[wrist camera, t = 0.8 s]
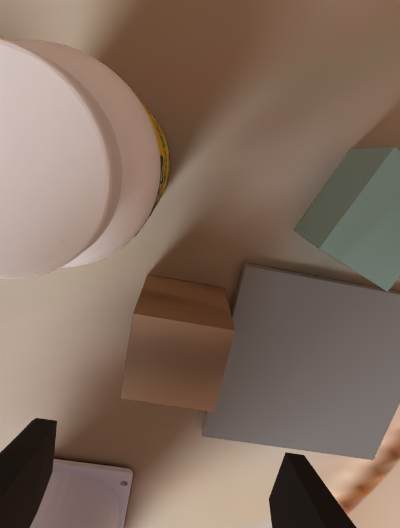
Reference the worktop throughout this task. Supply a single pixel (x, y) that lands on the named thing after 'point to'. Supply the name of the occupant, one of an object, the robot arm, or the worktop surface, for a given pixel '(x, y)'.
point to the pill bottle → (71, 159)
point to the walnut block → (178, 344)
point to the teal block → (360, 215)
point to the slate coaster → (309, 364)
